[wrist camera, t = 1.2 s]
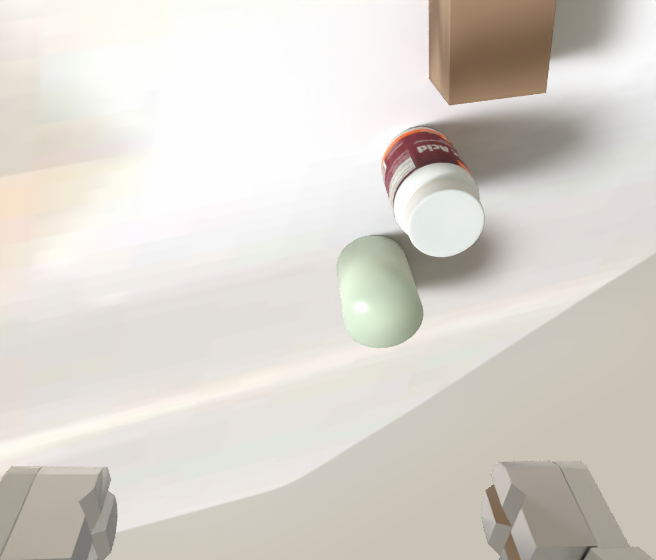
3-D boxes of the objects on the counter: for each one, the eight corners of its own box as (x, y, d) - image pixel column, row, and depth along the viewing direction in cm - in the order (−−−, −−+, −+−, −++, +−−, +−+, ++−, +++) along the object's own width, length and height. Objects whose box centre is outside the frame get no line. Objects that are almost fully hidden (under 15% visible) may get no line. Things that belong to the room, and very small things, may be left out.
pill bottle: (468, 143, 36) (511, 203, 29) (428, 205, 38) (460, 275, 31) (402, 112, 34) (432, 167, 27) (366, 178, 37) (384, 245, 30)
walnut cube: (428, -17, 30) (450, -2, 26) (521, -29, 30) (557, -16, 26) (428, 78, 33) (449, 105, 29) (513, 67, 33) (545, 92, 29)
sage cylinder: (339, 234, 39) (347, 284, 34) (411, 236, 39) (429, 285, 34) (334, 293, 42) (340, 347, 37) (401, 294, 42) (416, 348, 37)
